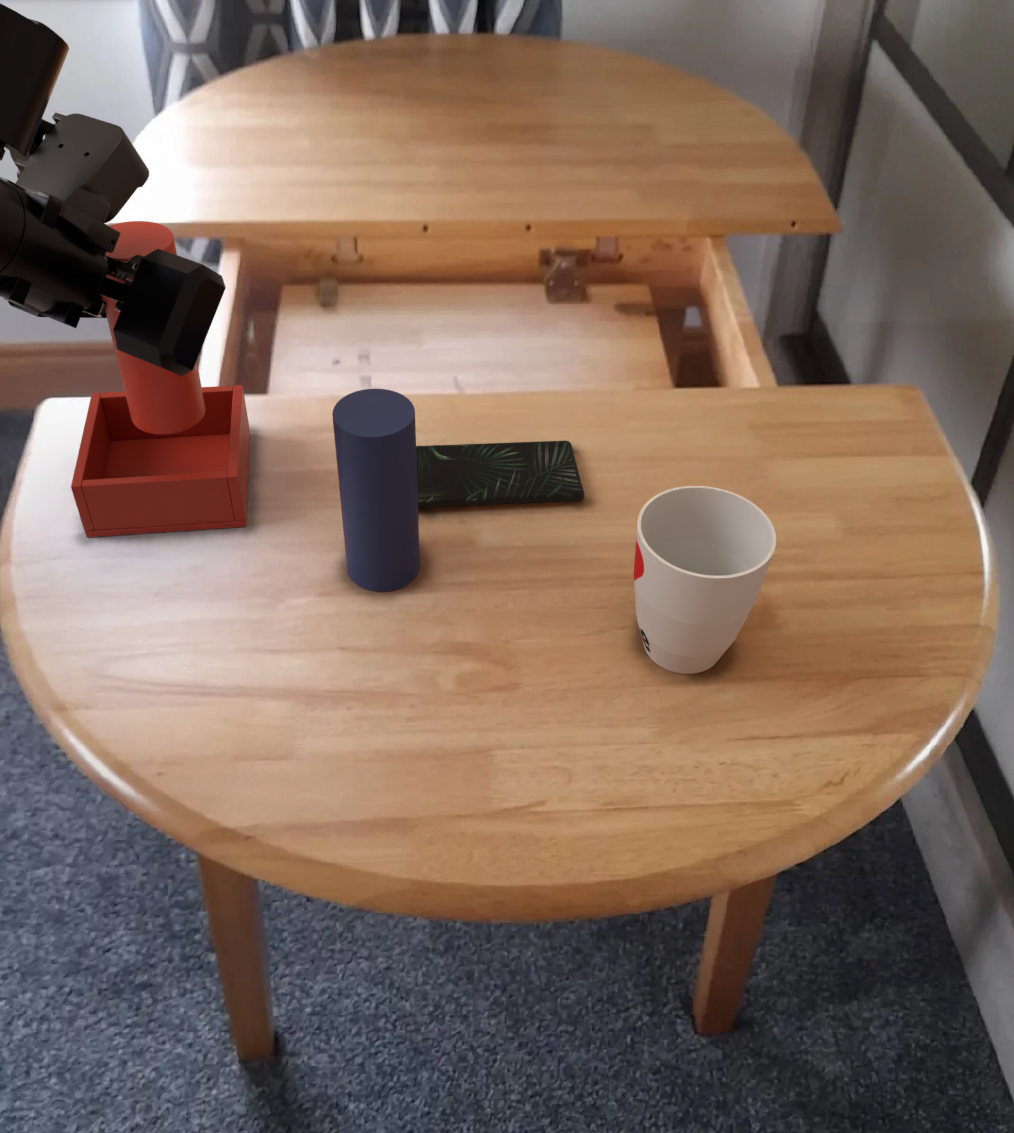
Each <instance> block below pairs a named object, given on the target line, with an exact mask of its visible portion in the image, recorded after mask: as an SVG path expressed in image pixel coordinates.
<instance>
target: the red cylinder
mask: <svg viewBox="0 0 1014 1133" xmlns="http://www.w3.org/2000/svg"><path fill="white" fill-rule="evenodd" d="M109 226H110V227H111V228H113V229H115V230H116V231H118V232H120V233H121V234H120V236H119V239H118V241H117V244H116V246H115V249H114V251H113V252H112V253H109V252H106V254H105V255H106V256H109V257H112V258H115V259H117V260H120V261H123V262H127V261H128V260H129V259H130V258H131V257H132V256H134V255H141V256H145V255H147V254H149V253H151V252H152V251H154V250H156V249H161V250H164V251H167V252H169V253H172V254H175V255H178V252H177V246H176V242H175V237H174V234H173V232H172V231H171V230H170V228H168V227H167V226H166V225H164V224H160V223H159V222H153V221H145V220H131V221H123V222H118V223H115V224H110V225H109ZM107 278H109V279H112V280H115V281H117V282H120V283H123V284H124V283H125V281H123V280H121V279H118V278H116V277H112V276H109V275H107ZM127 279H128V280H131V281H133V280H132V279H130V278H129V277H128V278H127ZM102 300H103V301H105V302H107V307H106V310H105V312H106V316H107V318H106V321H107V324H108V329H109V332H110V333H109V334H110V336H111V340H112V341H111V342H112V345H113V348H114V353H115V357H116V360H117V365H118V370H119V373H120V378H121V382H122V387H123V391H125V394H126V399H127V403H128V407H129V411H130V415H131V419H132V422H133V424H134V425H135V426H136V427H137V428H139V429H140V430H142V431H144V432H147V433H151V434H161V435H164V434H174V433H178V432H182V431H185V430H187V429H189V428H191V427H193V426H195V425H196V424H197V423H199V422H200V421H201V419H202V418H203V416H204V414H205V403H204V398H203V392H202V387H203V386H202V382H201V377H200V371H199V366H198V360H197V361H196V364H195V366H194V369H193V370H192V371H190V372H189V373H187V374H185V375H183V376H180V375H177V374H175V373H172V372H170V371H167V370H165V369H163V368H160V367H158V366H155V365H153V364H150V363H148V362H145V361H143V360H141V359H138V358H136V357H133V356H131V355H129V354H126V353H124V352H122V351H119V350H118V349H116V348H115V346H116V340H115V336H114V332H113V329H114V326H115V324H116V321H117V319H118V316H119V314H120V312H119V311H117V310H115V309H114V308H115V305H116V303H117V301H114V300H112V299H109V298H106V297H104V296H102Z"/></svg>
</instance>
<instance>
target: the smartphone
mask: <svg viewBox="0 0 1014 1133" xmlns="http://www.w3.org/2000/svg"><path fill="white" fill-rule="evenodd" d="M416 457H417V487H418V511H425V510H426V511H430V509H441V508H443V509H445V508H465V507H467V508H468V507H469V508H470V507H488V506H489V507H490V506H511V505H512V506H513V505H515V506H516V505H534V504H538V505H539V504H557V503H579V502H582V501H584V499H585V490H584V487H583V483H582V482H583V481H582V479H581V475H580V470H579V467H578V464H577V460H576V455H575V453H574V449H573V445H572V443H571V441H569V440H545V441H544V440H543V441H516V442H494V443H493V442H488V443H486V442H485V443H464V444H463V443H461V444H436V445H431V444H430V445H416Z"/></svg>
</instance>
